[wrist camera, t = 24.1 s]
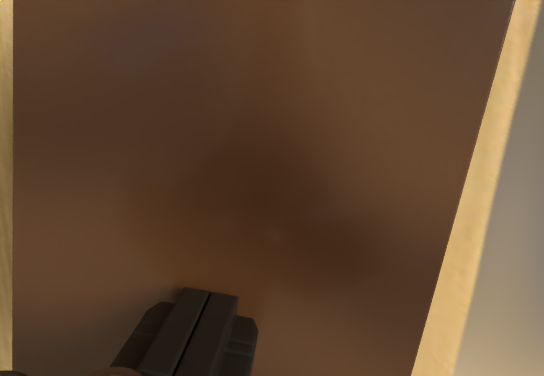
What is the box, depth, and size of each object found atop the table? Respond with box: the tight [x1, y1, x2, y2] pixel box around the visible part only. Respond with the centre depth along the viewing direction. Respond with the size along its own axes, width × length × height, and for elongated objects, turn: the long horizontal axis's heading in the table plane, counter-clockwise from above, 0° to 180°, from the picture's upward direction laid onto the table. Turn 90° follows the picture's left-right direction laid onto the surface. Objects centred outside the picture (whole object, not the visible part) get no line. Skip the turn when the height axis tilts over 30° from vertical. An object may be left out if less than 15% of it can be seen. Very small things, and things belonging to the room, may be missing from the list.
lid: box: [12, 0, 516, 376], centre depth 12 cm, size 14×11×1 cm
